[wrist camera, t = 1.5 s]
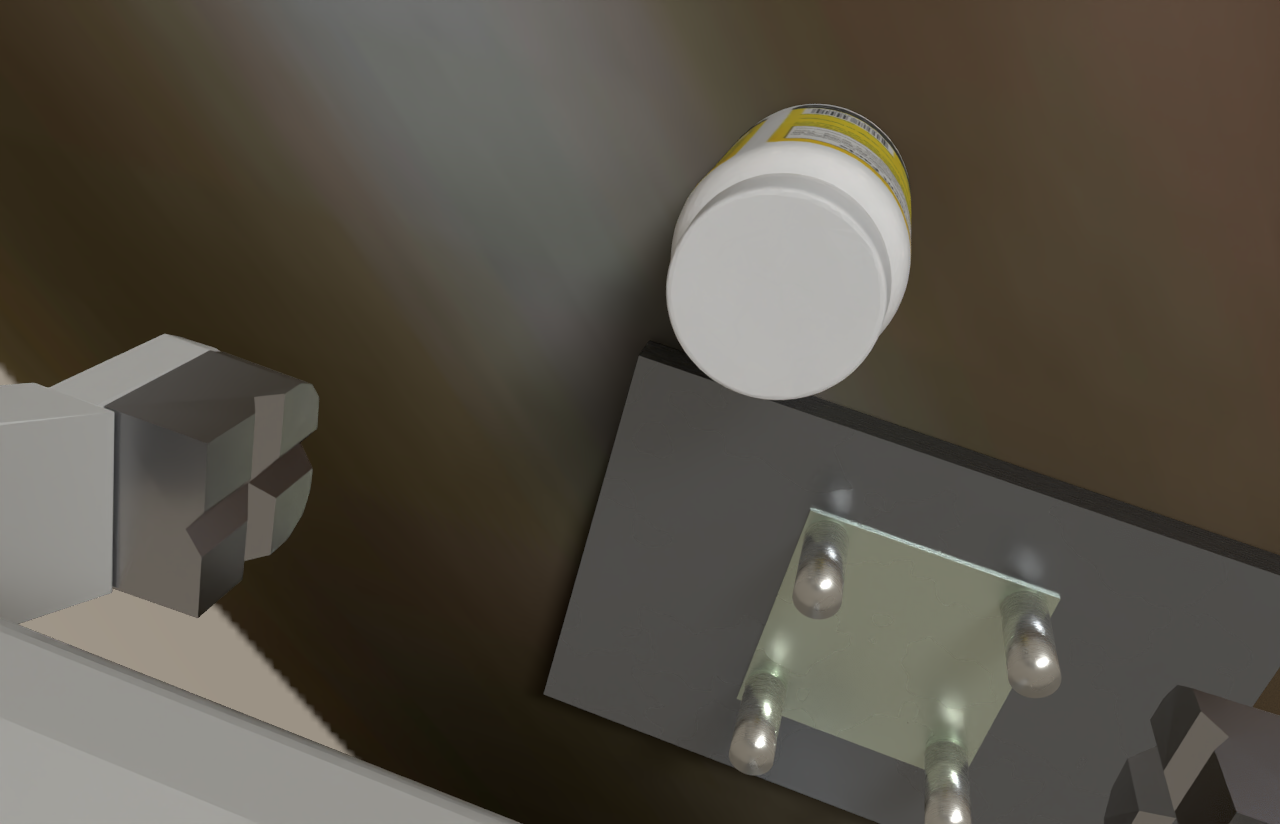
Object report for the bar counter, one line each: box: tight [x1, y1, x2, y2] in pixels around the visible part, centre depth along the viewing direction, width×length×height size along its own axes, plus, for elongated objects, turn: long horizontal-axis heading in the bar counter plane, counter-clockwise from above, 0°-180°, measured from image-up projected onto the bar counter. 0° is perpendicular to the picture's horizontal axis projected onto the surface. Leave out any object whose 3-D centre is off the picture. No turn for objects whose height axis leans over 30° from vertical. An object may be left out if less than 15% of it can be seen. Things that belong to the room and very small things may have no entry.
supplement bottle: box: [666, 104, 911, 400], centre depth 23 cm, size 5×5×8 cm
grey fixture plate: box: [544, 341, 1280, 824], centre depth 29 cm, size 18×12×4 cm, turn 74°
